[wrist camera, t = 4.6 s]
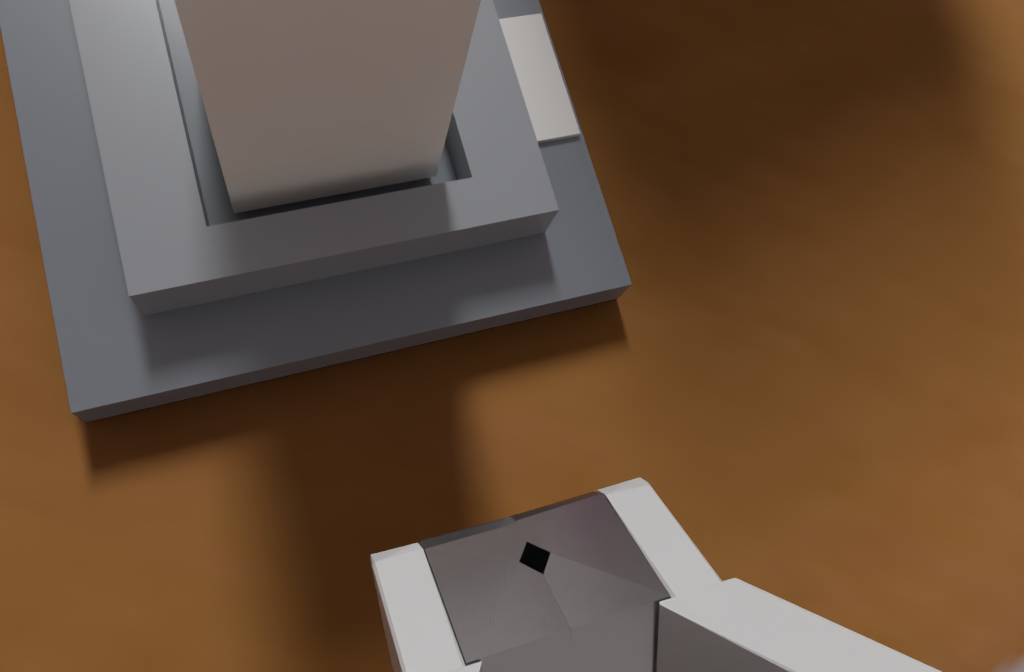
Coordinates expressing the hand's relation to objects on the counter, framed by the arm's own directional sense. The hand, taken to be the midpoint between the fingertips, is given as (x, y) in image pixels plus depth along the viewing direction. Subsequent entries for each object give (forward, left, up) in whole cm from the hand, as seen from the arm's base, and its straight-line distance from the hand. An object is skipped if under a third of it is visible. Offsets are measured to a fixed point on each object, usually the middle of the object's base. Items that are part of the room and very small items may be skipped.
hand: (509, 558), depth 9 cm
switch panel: (+9, +11, -8) cm, 16 cm away
